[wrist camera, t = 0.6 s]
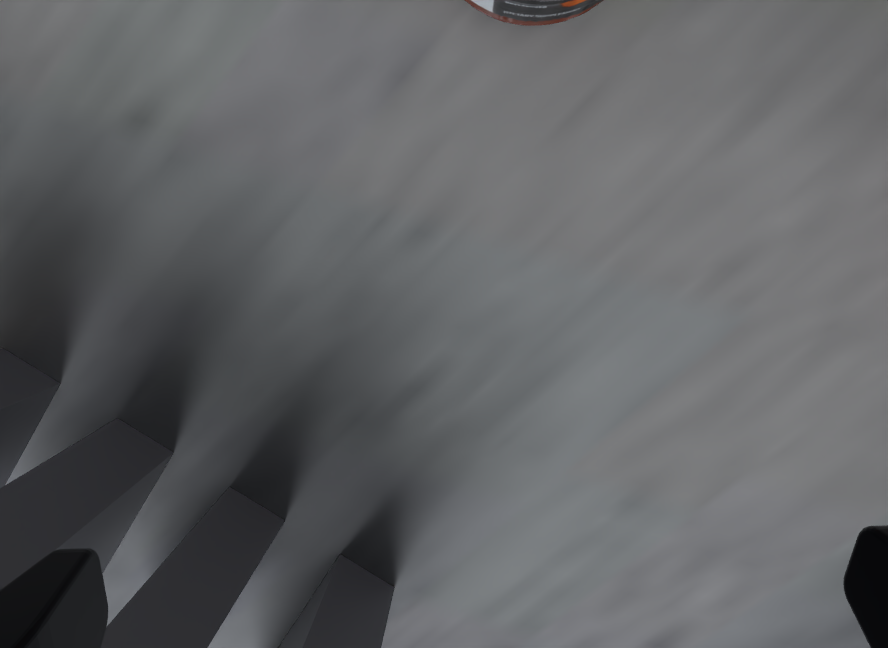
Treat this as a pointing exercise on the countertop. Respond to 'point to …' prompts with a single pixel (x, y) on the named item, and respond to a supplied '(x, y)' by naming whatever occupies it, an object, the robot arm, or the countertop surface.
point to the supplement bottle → (533, 10)
